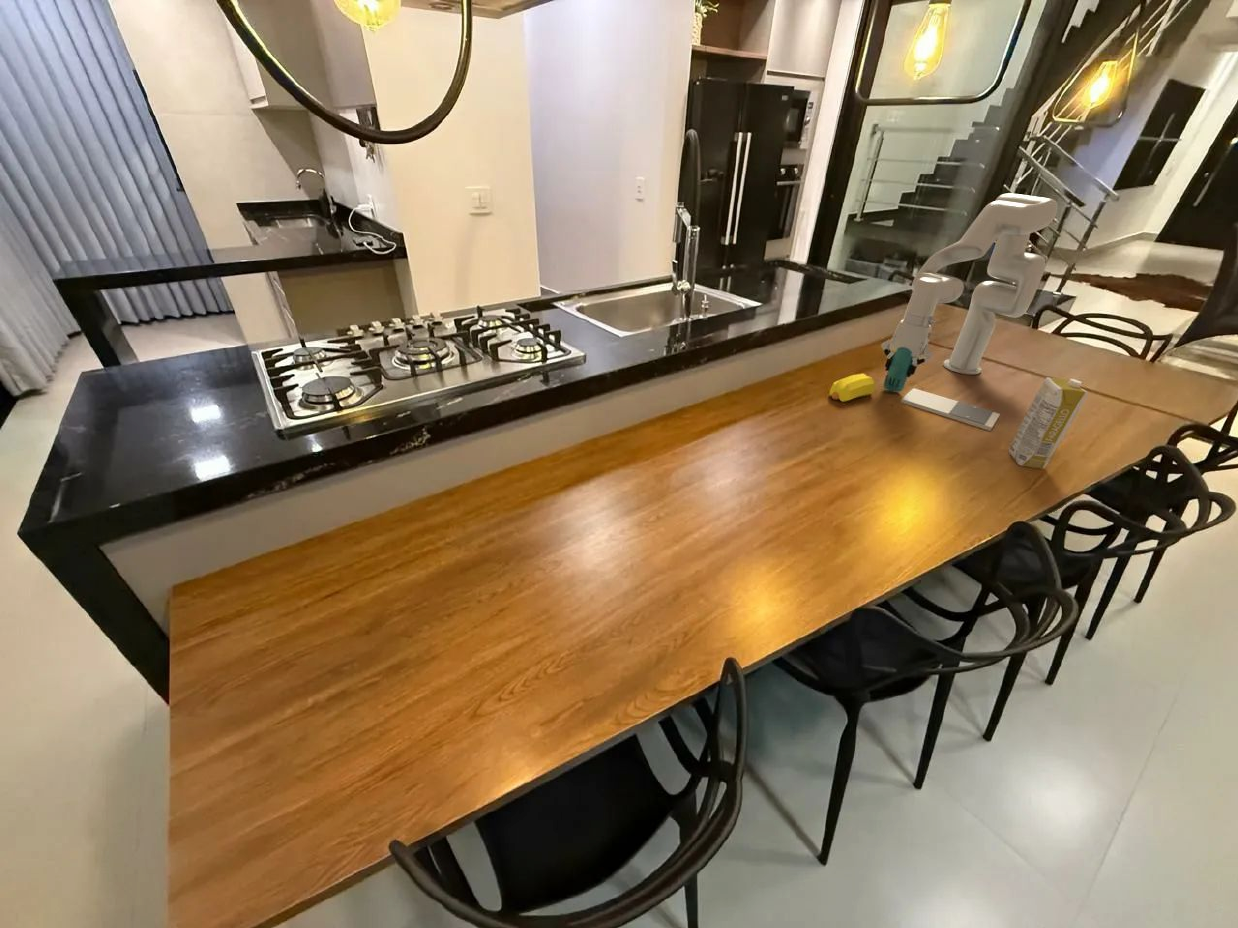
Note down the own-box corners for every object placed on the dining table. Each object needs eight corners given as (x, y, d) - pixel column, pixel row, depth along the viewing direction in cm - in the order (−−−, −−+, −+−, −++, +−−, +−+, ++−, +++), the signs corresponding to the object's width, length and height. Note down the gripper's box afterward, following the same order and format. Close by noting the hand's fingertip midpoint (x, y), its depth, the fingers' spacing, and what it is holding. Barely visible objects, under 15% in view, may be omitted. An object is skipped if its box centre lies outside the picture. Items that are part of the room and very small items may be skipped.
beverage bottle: (897, 388, 184) (918, 331, 173) (904, 397, 179) (926, 339, 168) (878, 387, 185) (897, 330, 174) (884, 395, 179) (904, 337, 168)
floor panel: (912, 391, 183) (913, 387, 182) (998, 417, 169) (1000, 413, 168) (900, 402, 175) (902, 398, 174) (990, 430, 161) (992, 426, 161)
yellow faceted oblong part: (822, 396, 177) (841, 406, 171) (827, 377, 173) (847, 387, 168) (858, 386, 185) (877, 395, 180) (864, 368, 181) (883, 376, 176)
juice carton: (1049, 471, 143) (1096, 389, 130) (1016, 467, 145) (1060, 385, 131) (1033, 453, 151) (1077, 374, 138) (1003, 449, 152) (1043, 370, 139)
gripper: (950, 323, 166) (929, 377, 176) (892, 310, 175) (875, 362, 185) (943, 329, 161) (922, 384, 171) (884, 315, 170) (868, 368, 180)
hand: (898, 372), depth 178 cm, fingers closed on beverage bottle, 6 cm apart
